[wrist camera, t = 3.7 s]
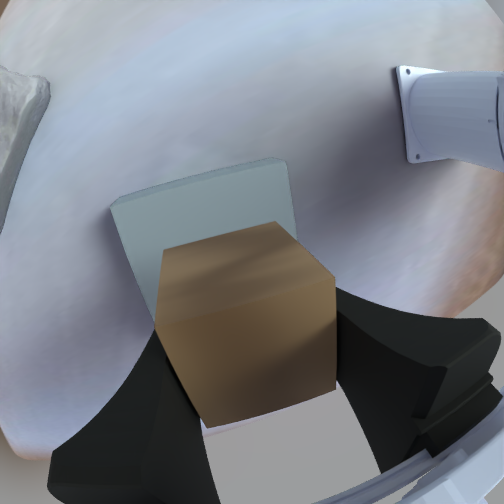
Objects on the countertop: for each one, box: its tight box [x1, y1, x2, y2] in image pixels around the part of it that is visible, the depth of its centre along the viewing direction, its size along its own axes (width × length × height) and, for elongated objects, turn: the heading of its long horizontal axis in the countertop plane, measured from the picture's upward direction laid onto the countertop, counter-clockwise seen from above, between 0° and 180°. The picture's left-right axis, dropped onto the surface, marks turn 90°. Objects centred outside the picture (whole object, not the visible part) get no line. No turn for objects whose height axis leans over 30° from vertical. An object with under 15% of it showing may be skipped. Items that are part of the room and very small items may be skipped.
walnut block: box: [154, 221, 337, 428], centre depth 10 cm, size 4×4×5 cm
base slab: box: [110, 158, 298, 323], centre depth 19 cm, size 10×10×3 cm
